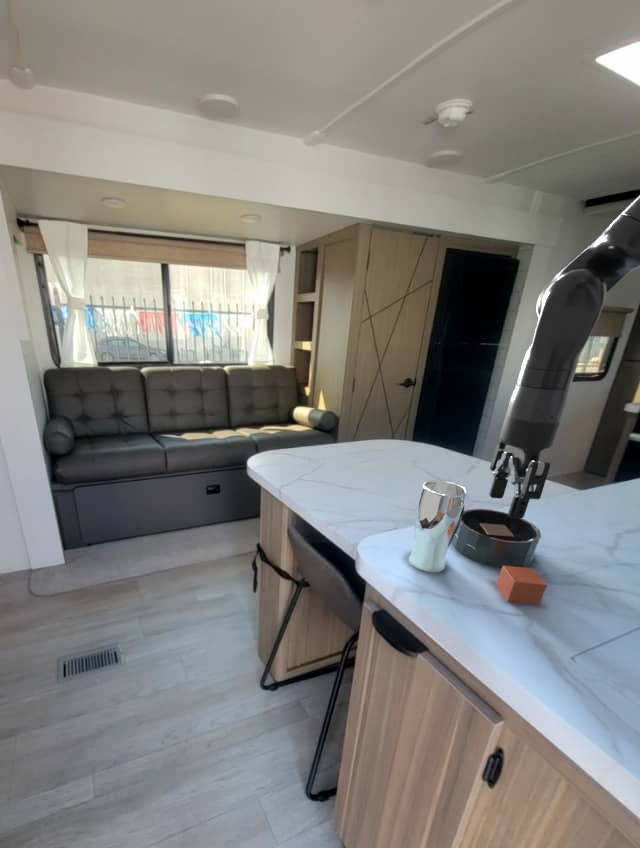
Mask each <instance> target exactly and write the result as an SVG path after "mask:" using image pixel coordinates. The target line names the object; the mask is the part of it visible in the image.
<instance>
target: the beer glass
mask: <svg viewBox="0 0 640 848" xmlns="http://www.w3.org/2000/svg"><path fill="white" fill-rule="evenodd" d="M467 495H468V489H466V488H465V487H464V486H462V485H461V484H457V483H454V482H450V481H445V480H428V481H425V482H424V483H423V485H422V488H421V490H420V495H419V497H418V502H417V506H416V511H415V518H414V543H413V548H412V550H411V553H410V555H409V557H408V561H409V563H410V564H411V566H413V567H415V568H416V569H418V570H420V571H424V572H428V573H439V572H442V571H444V570H445V568H446V557H447V553H448V550H449V548H450V546H451V545H452V540H453V538H454V536H455V534H456V532H457V529H458V527H459V525H460V522H461V519H462V516H463V511H465V506H466V500H467Z"/></svg>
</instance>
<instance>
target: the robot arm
mask: <svg viewBox="0 0 640 848" xmlns="http://www.w3.org/2000/svg"><path fill="white" fill-rule="evenodd" d="M639 268H640V194H639V195H638V196H637V197H636V198H635V199H634V200H633V201H632V202H631V203H630V204H629V205H628V206H627V207H626V208H625V209H624V210H623V211H622V212H621V213H620V214H619V215H618V216H617V217H616V218H614V220H613V221H612V222H611V223H610V224H609V225H608V226H607V227H606V229H605V230H604V231H603V232H602V233H601V234H600V235H599V236H598V237H597V239H595V240H594V241H593V242H592V243H591V244H590V245H589V246H588V247H587V248H585V249H584V250H583V251H582V252H580V254H579V255H577V256H576V257H575V258H574V259H573V260H572V261H570V263H568V265H566V266H565V267H564V268H563V269H562V270H561V271H559V273H557V274H556V275H555V276H554V277H553V278H552V279H551V280H550V281H549V282H548V283H547V284H546V285H545V286H544V288H543V289H542V290H541V292H540V294H539V296H538V298H537V300H536V314H537V316H538V321H537V324H536V328H535V332H534V334H533V335H534V336H533V339H532V342H531V346H529V348H528V349H527V350H526V353H525V355H524V358H523V360H522V362H521V366H520V369H519V373H518V377H517V380H516V384H515V385H514V386H515V387H514V390H513V392H512V393H511V396H510V399H509V402H508V406H507V408H506V409H507V410H506V413H505V416H504V420H503V424H502V427H501V430H500V434H499V439H498V440H497V443H496V445H495V450H494V453H493V456H492V459H491V461H490V462H491V463H490V466H489V470H490V471H491V472H492V477H493V480H492V483H491V488H490V490H489V493H488V494H489V497H490V498H492V499H502V498H503V497H504V496H505V493H506V490H507V486H508V483H509V478H510V483H511V484H512V485H513V490H514V491H513V493H514V494H513V495H514V496H513V497H512V500H511V503H510V507H509V510H508V512H507V513H508V515H509V516H510V517H511V518H519V519H521V518H522V519H524V517H525V514H526V511H527V508H528V506H529V502H530V500H540V499H541V497H542V494H543V490H544V487H545V484H546V481H547V477H548V475H549V471H550V468H551V463H550V462H549V461H540V456H541V452H542V451H544V450H548V449H550V448H552V446H553V445H554V441H555V438H556V435H557V433H558V430H559V427H560V424H561V421H562V418H563V415H564V413H565V410H566V406H567V404H568V403H567V402H568V399H569V392H570V388H571V385H572V383H573V380H574V377H575V374H576V371H577V369H578V368H577V367H578V364H579V361H580V357H581V355H582V352H583V350H584V348H585V347H586V345H587V343H588V340H589V339H590V337H591V335H592V332H593V331H594V329H595V326H596V324H597V322H598V320H599V318H600V315H601V313H602V311H603V308H604V304H605V301H606V297H607V294H608V293H609V292H610V291H611V290H612V289H613V288H614V287H615V286H617V284H619V283H620V282H621V281H622V280H623V279H624V278H625V277H627V276H628V275H629V274H630V273H632V272H634V271H636V270H638V269H639Z"/></svg>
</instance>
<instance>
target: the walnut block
mask: <svg viewBox="0 0 640 848" xmlns="http://www.w3.org/2000/svg"><path fill="white" fill-rule="evenodd" d="M477 532H478V533H480V534H483V535H486V536H489V537H492V538H496V539H501V540H505V541H514V538H515V536H514V535H513V534H512V533H511V532H510V531H509V529H508V528H507V527H506V526H505V525H497V524H485V523H479V526H478V530H477Z"/></svg>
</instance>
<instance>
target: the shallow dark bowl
mask: <svg viewBox="0 0 640 848" xmlns="http://www.w3.org/2000/svg"><path fill="white" fill-rule="evenodd" d="M479 523H485V524H497V525H505V526H506V527H507V528H508V529H509V531H510V532H511V533H512V534H513V535H514V536H515V538H514V541H505V540H501V539H496V538H492V537H489V536H486V535H483V534H480V533H478V532H477V530H478V526H479ZM541 538H542V534H541V531H540V530H539V528H538V527H537V526H536V525H535V524H533V523H531V522H530V521H528V520H526V519H524V518H521V519H519V518H511V517H510V516H509V515H508V512H504V511H500V510H494V509H486V508H472V509H471V508H470V509H466V510H464V511H463V516H462V519H461V522H460V525H459V527H458V529H457V532H456V534H455V536H454V538H453V540H452V542H451V545H452V546H453V548H454V549H455V550H456V552H459V554H461V556H464V557H466V558H467V559H469V560H471V561H473V562H476V563H478V564H481V565H484V566H488V567H492V568H496V569H502V566H512V567H523V568H527V567H529V565H530V564H531V563H532V561H533V559H534V557H535V554H536V551H537V548H538V545H539V543H540V540H541Z"/></svg>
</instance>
